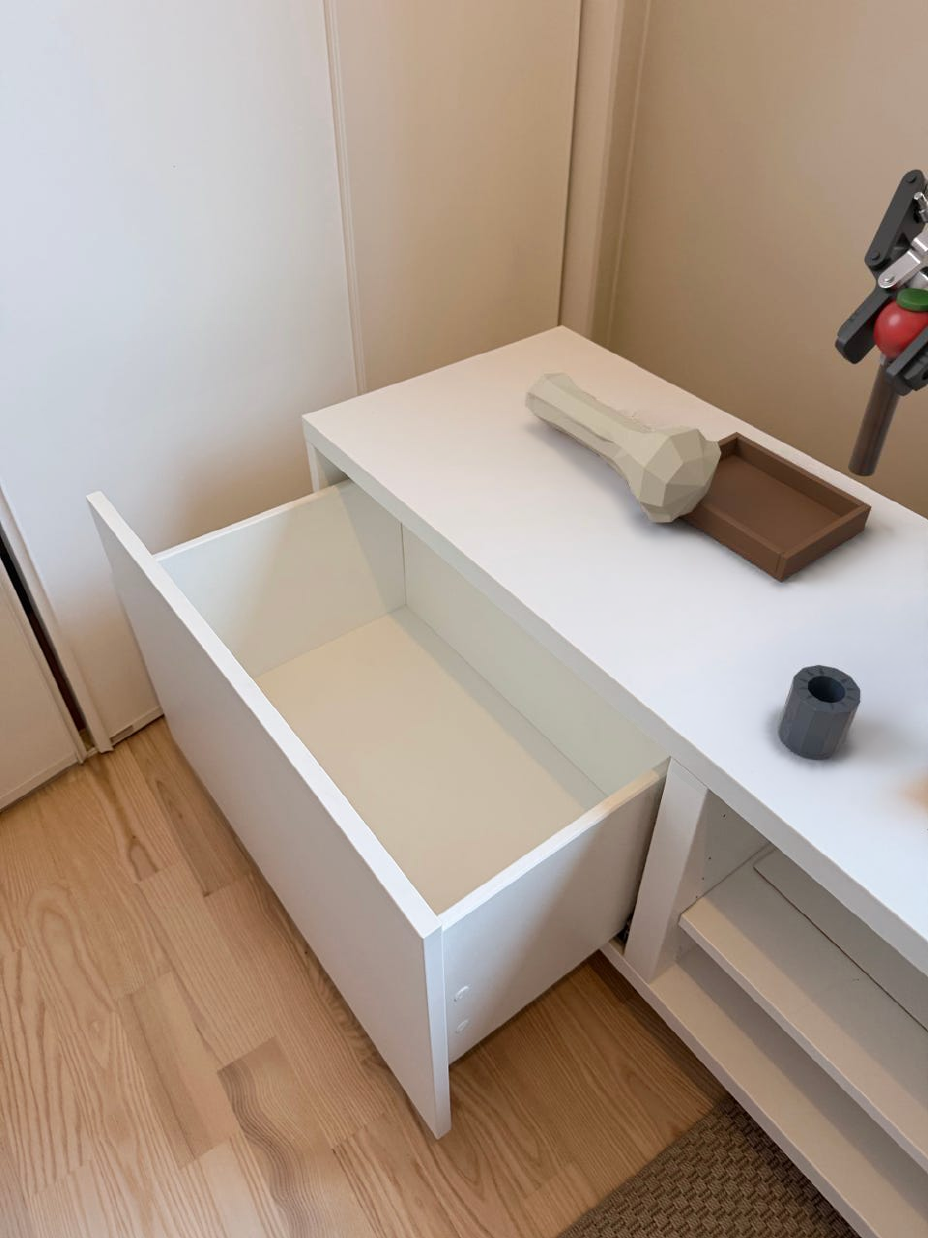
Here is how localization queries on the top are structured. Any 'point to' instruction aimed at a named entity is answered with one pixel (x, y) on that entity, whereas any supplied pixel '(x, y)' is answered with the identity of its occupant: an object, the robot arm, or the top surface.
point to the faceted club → (631, 447)
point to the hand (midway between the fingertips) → (869, 369)
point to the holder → (818, 712)
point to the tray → (774, 509)
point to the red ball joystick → (892, 338)
